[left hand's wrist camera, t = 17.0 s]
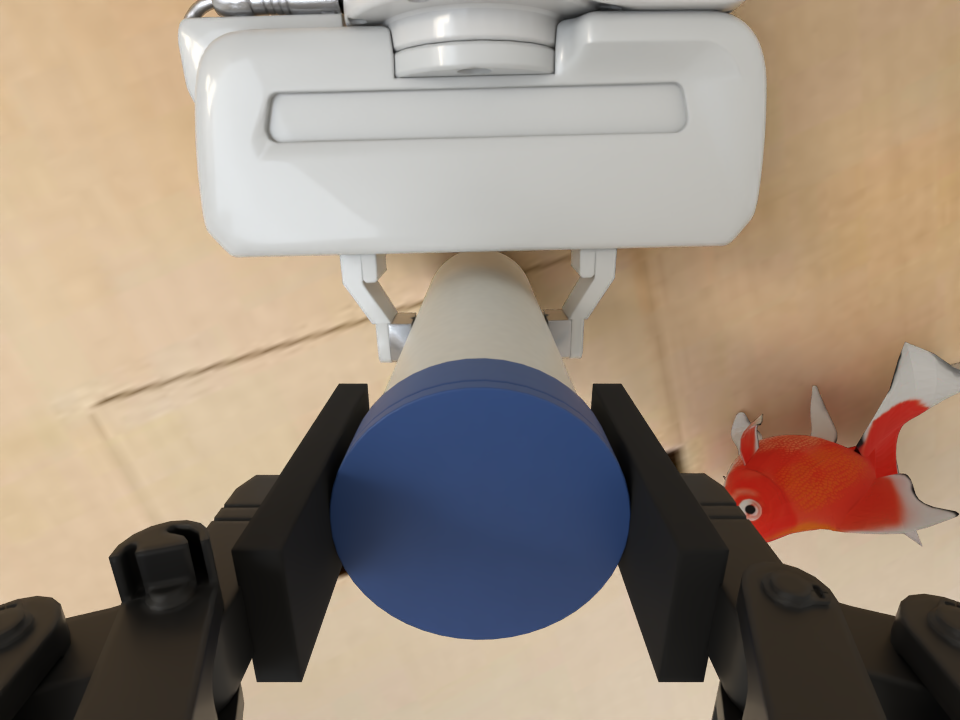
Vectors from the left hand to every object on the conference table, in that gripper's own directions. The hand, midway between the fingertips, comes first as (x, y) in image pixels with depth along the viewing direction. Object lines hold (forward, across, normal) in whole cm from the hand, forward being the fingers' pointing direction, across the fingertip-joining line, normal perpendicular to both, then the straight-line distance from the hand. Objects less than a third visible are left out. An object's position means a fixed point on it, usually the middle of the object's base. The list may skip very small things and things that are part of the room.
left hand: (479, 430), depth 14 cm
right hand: (+8, 0, -1) cm, 9 cm away
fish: (+15, +19, -6) cm, 25 cm away
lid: (-4, 0, 0) cm, 4 cm away
